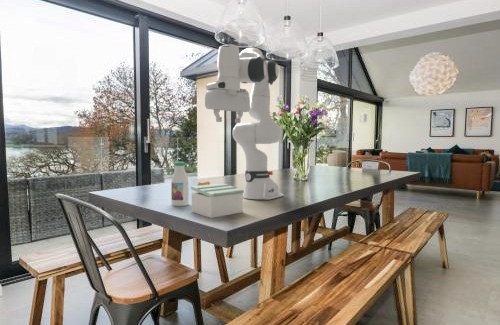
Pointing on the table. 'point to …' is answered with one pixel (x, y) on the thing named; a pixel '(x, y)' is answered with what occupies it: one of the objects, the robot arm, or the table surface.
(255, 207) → the table surface
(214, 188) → the snap lid
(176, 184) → the milk bottle
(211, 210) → the box
